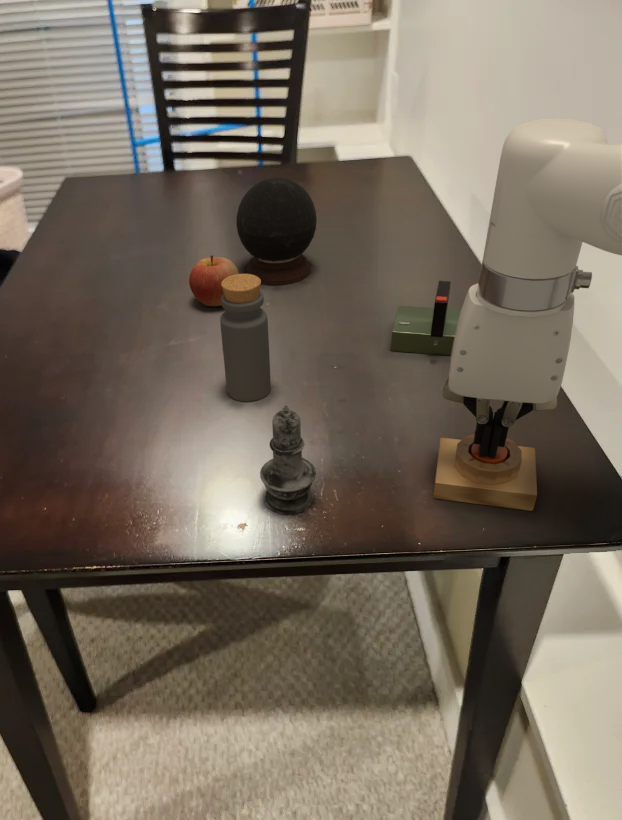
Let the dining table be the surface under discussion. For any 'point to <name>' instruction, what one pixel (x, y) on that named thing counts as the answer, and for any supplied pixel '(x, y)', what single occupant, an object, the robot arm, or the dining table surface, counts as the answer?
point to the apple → (210, 279)
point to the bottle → (245, 338)
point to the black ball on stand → (277, 230)
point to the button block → (486, 476)
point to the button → (499, 457)
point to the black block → (440, 309)
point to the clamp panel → (422, 331)
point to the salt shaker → (287, 467)
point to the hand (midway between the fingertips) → (487, 448)
